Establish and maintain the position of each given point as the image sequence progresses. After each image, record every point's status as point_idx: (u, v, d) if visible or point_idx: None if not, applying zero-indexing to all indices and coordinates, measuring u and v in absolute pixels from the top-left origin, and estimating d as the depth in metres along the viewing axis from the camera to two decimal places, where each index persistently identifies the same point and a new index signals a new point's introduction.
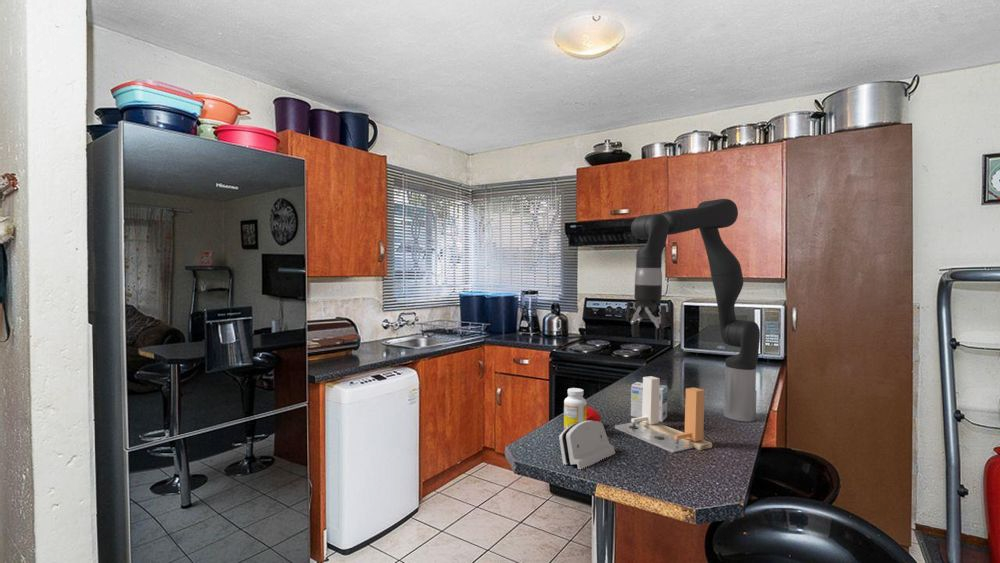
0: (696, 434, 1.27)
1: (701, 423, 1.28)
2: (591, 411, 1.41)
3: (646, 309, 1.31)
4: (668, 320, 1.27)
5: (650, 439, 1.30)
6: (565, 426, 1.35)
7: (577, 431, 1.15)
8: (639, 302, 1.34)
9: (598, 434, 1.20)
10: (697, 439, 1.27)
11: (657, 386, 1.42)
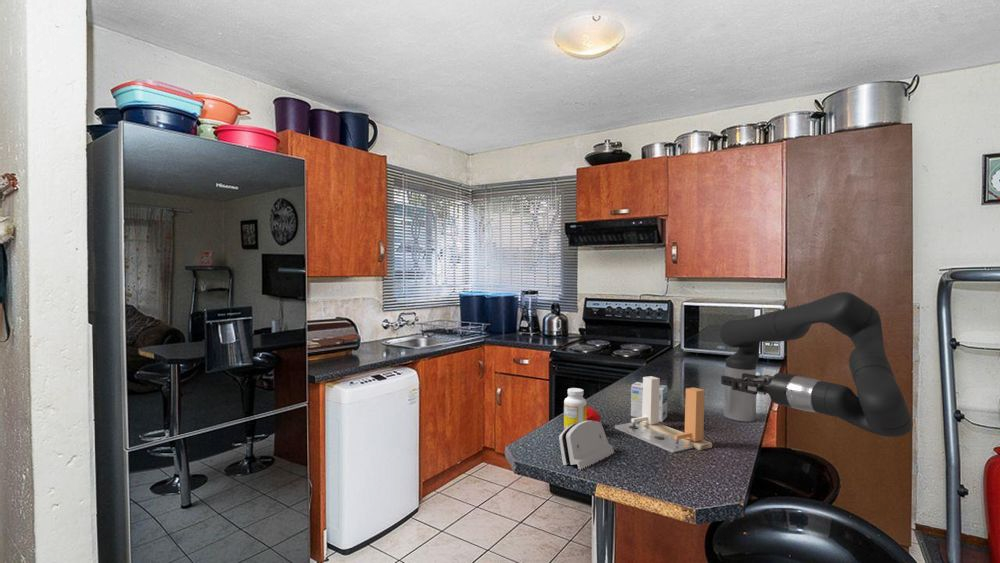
0: (696, 434, 1.27)
1: (701, 423, 1.28)
2: (591, 411, 1.41)
3: None
4: None
5: (650, 439, 1.30)
6: (565, 426, 1.35)
7: (577, 432, 1.15)
8: None
9: (597, 434, 1.20)
10: (697, 439, 1.27)
11: (657, 386, 1.42)
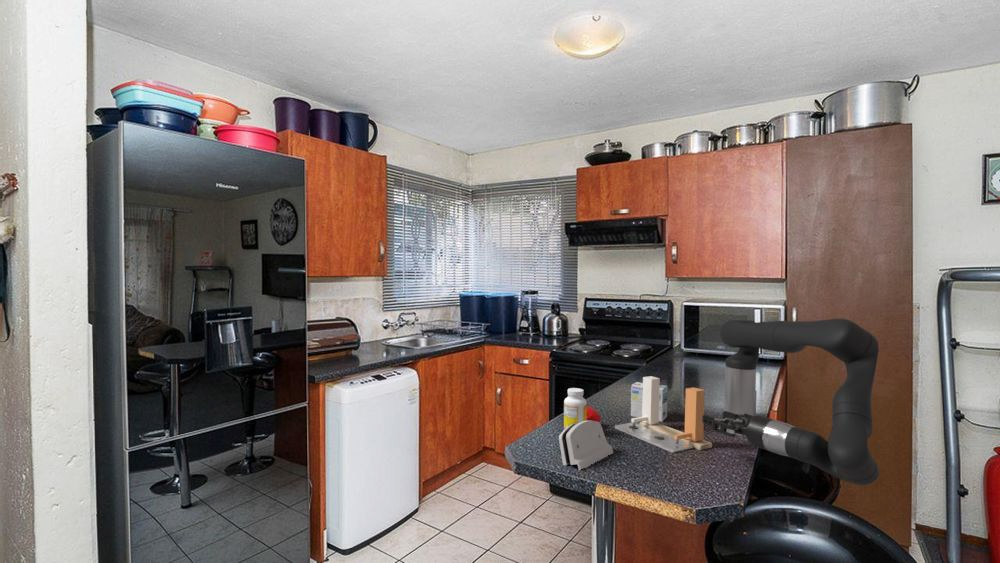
0: (696, 434, 1.27)
1: (701, 423, 1.28)
2: (591, 411, 1.41)
3: None
4: None
5: (650, 439, 1.30)
6: (565, 426, 1.35)
7: (577, 432, 1.15)
8: None
9: (596, 434, 1.20)
10: (697, 439, 1.27)
11: (657, 386, 1.42)
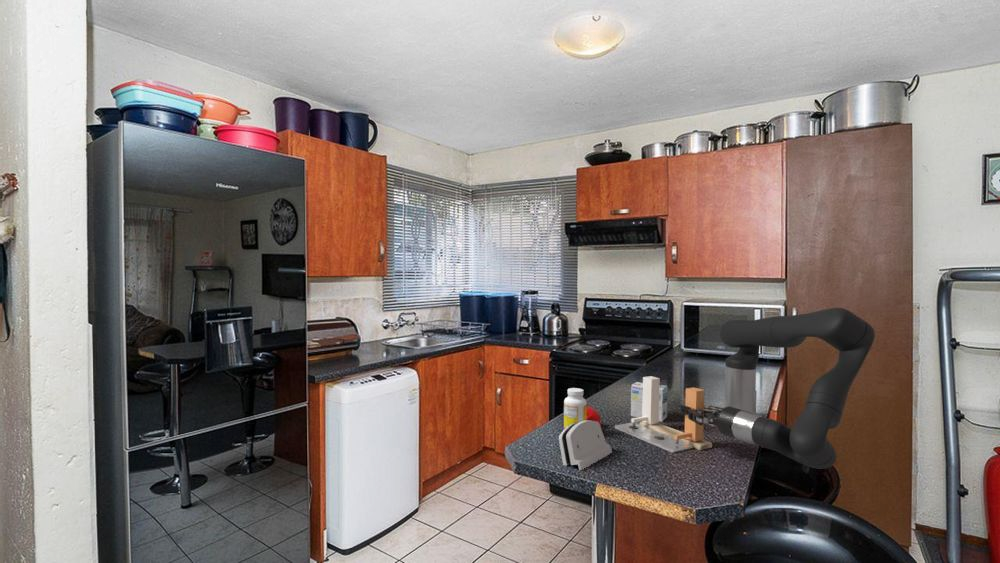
0: (696, 434, 1.27)
1: None
2: (591, 411, 1.41)
3: None
4: None
5: (650, 439, 1.30)
6: (565, 426, 1.35)
7: (577, 432, 1.15)
8: None
9: (595, 434, 1.20)
10: (697, 439, 1.27)
11: (657, 386, 1.42)
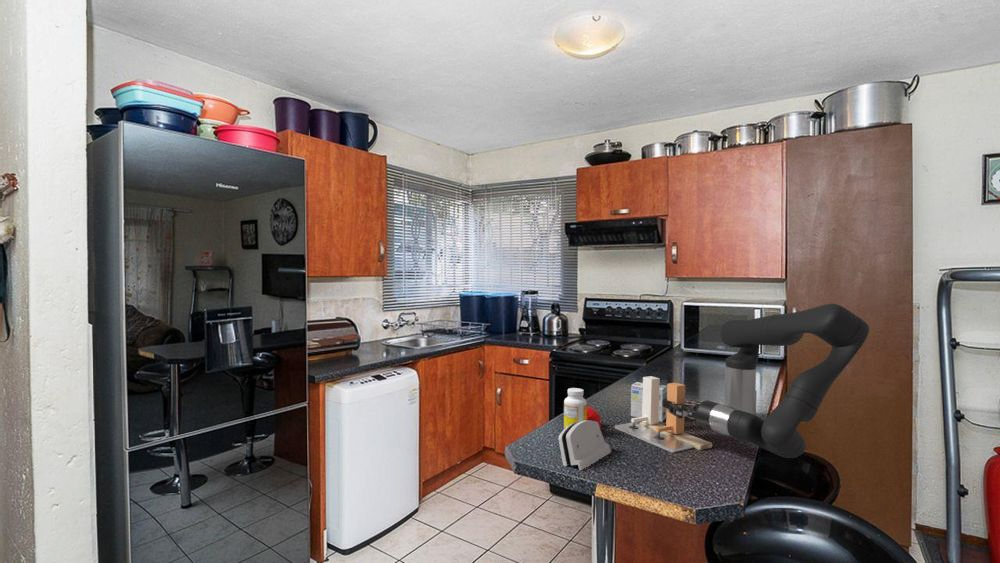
0: (677, 427, 1.32)
1: None
2: (591, 411, 1.41)
3: None
4: None
5: (650, 439, 1.30)
6: (565, 426, 1.35)
7: (576, 432, 1.14)
8: None
9: (595, 434, 1.20)
10: (678, 432, 1.33)
11: (657, 386, 1.42)
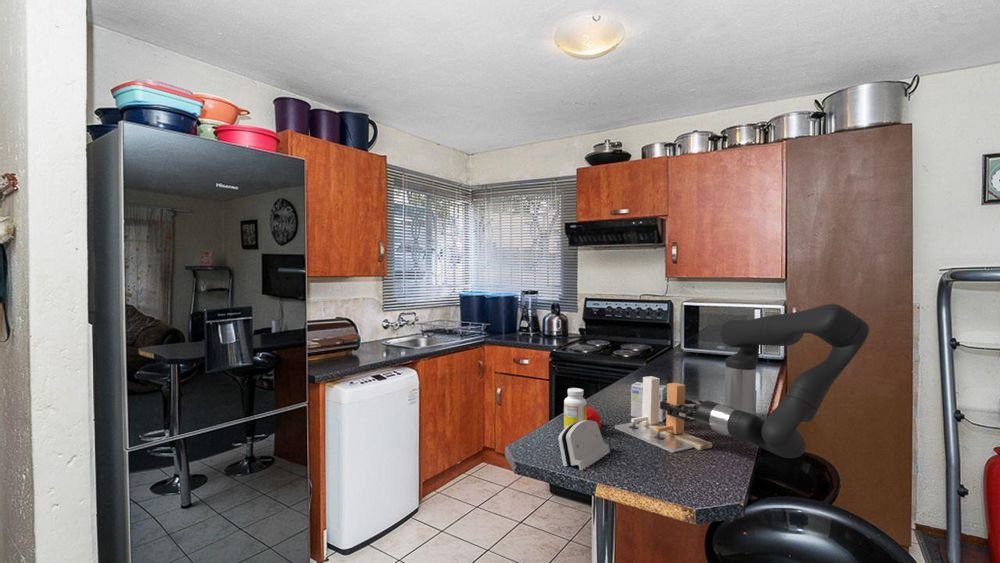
0: (677, 427, 1.32)
1: None
2: (591, 411, 1.41)
3: None
4: None
5: (650, 439, 1.30)
6: (565, 426, 1.35)
7: (576, 432, 1.14)
8: None
9: (594, 433, 1.20)
10: (678, 432, 1.33)
11: (657, 386, 1.42)
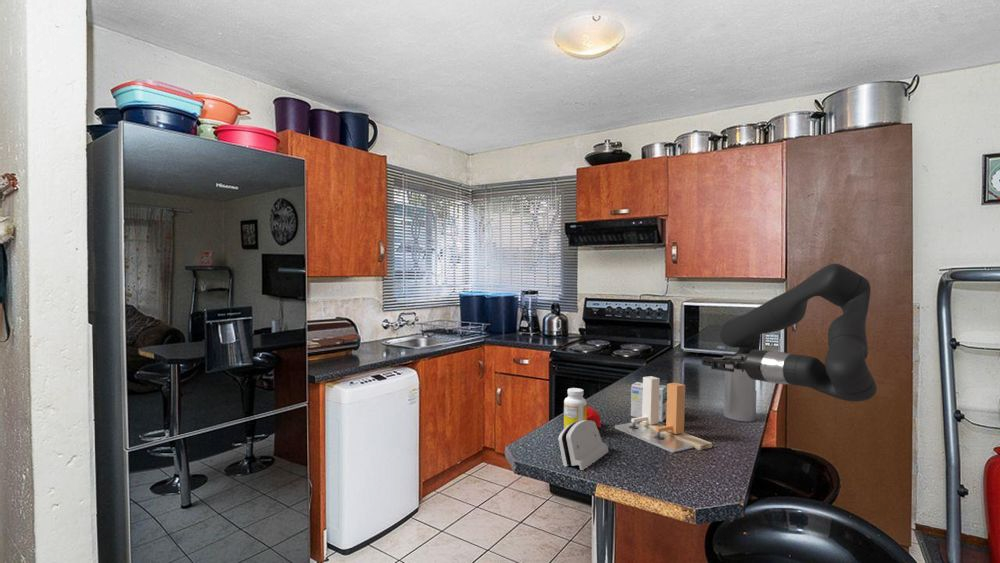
0: (677, 427, 1.32)
1: (682, 417, 1.33)
2: (591, 411, 1.41)
3: None
4: None
5: (650, 439, 1.30)
6: (565, 426, 1.35)
7: (576, 432, 1.14)
8: None
9: (593, 433, 1.20)
10: (678, 432, 1.33)
11: (657, 386, 1.42)
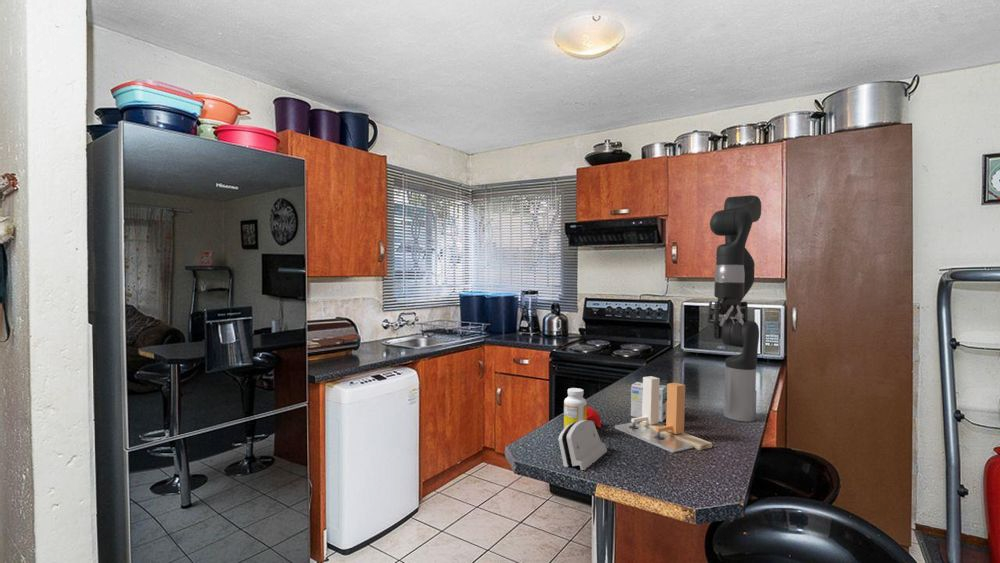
0: (677, 427, 1.32)
1: (682, 417, 1.33)
2: (591, 411, 1.41)
3: (738, 307, 1.28)
4: None
5: (650, 439, 1.30)
6: (565, 426, 1.35)
7: (576, 432, 1.14)
8: (727, 301, 1.27)
9: (591, 433, 1.21)
10: (678, 432, 1.33)
11: (657, 386, 1.42)
